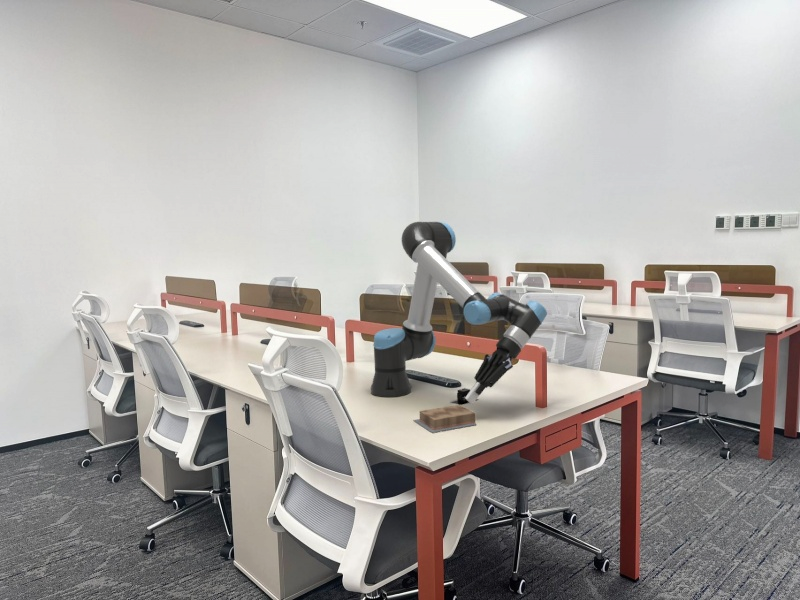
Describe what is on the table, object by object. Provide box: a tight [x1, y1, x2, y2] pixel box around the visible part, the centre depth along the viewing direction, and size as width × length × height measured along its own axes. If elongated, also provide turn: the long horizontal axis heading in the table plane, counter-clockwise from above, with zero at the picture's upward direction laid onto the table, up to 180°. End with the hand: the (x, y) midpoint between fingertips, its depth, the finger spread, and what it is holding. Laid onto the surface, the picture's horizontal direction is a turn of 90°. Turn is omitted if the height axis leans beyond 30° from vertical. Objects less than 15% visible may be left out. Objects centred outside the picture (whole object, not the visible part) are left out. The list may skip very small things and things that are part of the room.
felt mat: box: [412, 418, 477, 434], centre depth 171 cm, size 13×15×1 cm
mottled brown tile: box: [419, 404, 476, 430], centre depth 172 cm, size 10×3×14 cm
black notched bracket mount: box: [449, 387, 480, 406], centre depth 195 cm, size 12×7×5 cm, turn 130°
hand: (468, 401), depth 174 cm, fingers closed
